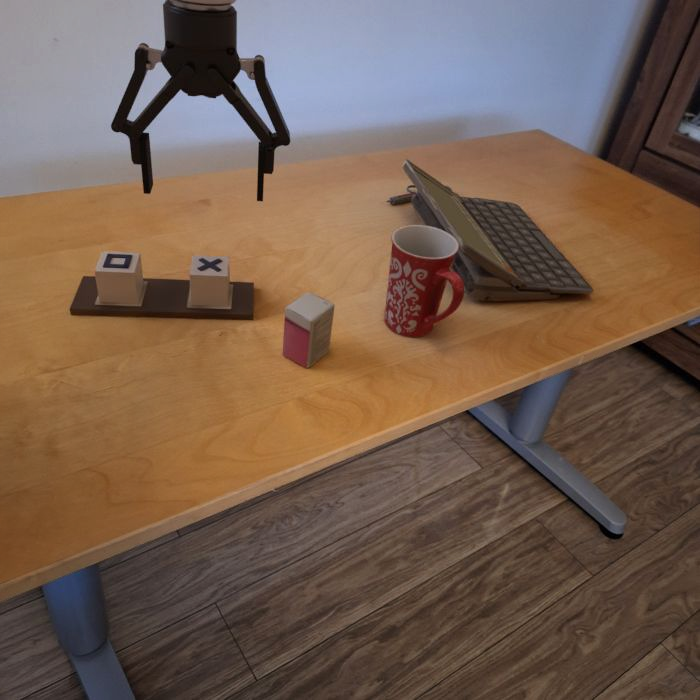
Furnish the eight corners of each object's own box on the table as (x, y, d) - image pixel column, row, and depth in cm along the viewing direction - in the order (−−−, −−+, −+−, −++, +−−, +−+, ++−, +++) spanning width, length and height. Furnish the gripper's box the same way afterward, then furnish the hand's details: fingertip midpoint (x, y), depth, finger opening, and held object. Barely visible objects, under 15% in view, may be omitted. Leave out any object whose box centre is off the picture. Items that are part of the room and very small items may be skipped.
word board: (70, 314, 82) (69, 308, 82) (84, 281, 88) (82, 275, 88) (253, 320, 86) (253, 313, 85) (253, 287, 92) (253, 281, 91)
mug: (365, 312, 90) (378, 230, 82) (414, 298, 95) (431, 219, 86) (415, 363, 83) (436, 279, 74) (466, 346, 87) (491, 264, 78)
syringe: (367, 198, 120) (368, 190, 119) (437, 184, 129) (438, 176, 128) (391, 216, 115) (392, 208, 114) (461, 200, 124) (463, 192, 123)
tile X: (194, 285, 89) (192, 253, 86) (229, 286, 90) (229, 255, 86) (191, 305, 85) (189, 273, 82) (228, 306, 86) (227, 274, 83)
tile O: (106, 281, 87) (101, 249, 84) (143, 283, 88) (140, 251, 85) (99, 302, 83) (94, 269, 80) (138, 303, 84) (134, 271, 81)
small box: (304, 337, 84) (308, 289, 79) (330, 351, 83) (335, 303, 78) (280, 355, 81) (283, 306, 76) (307, 370, 79) (311, 321, 74)
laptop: (446, 306, 94) (462, 246, 87) (392, 208, 118) (401, 155, 111) (593, 302, 100) (619, 245, 93) (514, 209, 124) (529, 159, 117)
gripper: (63, -6, 59) (93, 199, 72) (322, 23, 63) (306, 213, 76) (81, -20, 65) (106, 172, 78) (317, 8, 69) (303, 186, 82)
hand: (205, 193), depth 77 cm, fingers open, 13 cm apart
